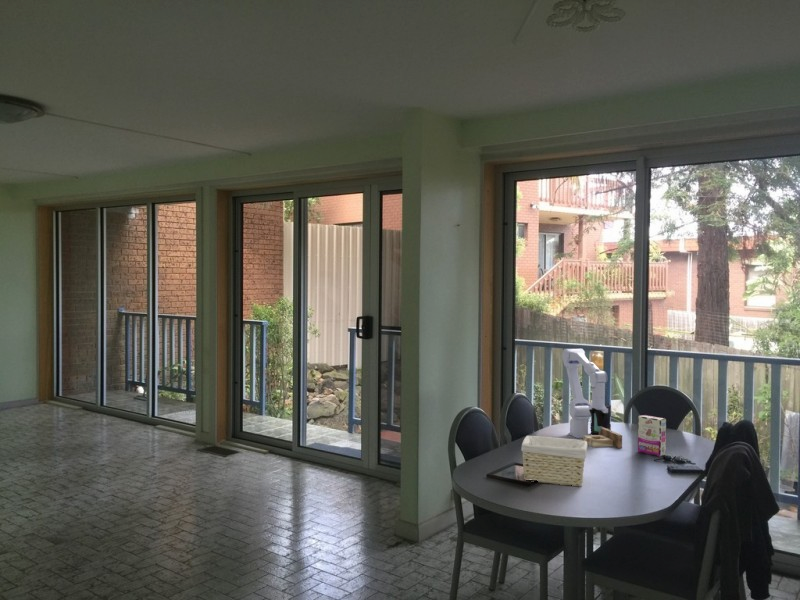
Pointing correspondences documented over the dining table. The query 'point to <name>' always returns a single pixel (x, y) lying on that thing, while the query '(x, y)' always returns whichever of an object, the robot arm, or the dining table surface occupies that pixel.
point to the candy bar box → (652, 435)
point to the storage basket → (554, 460)
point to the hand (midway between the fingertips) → (598, 425)
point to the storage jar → (605, 424)
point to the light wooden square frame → (598, 440)
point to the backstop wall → (612, 436)
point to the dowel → (596, 427)
